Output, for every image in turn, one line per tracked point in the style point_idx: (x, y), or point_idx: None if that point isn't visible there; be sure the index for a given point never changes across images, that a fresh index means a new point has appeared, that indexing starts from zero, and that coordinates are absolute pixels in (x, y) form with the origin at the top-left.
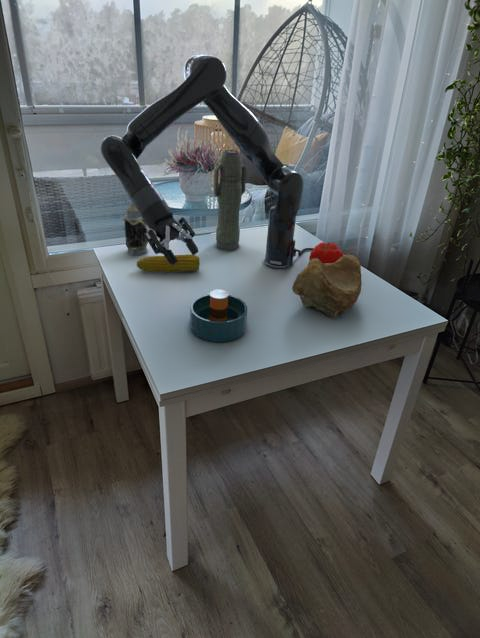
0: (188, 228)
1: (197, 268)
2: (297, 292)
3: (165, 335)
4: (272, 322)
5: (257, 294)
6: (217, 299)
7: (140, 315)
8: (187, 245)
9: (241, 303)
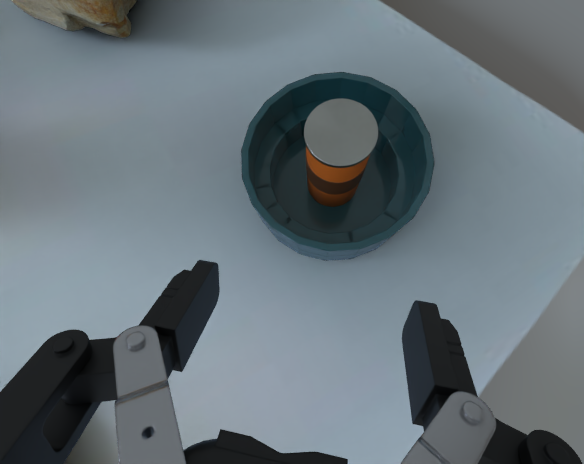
0: (30, 414)
1: None
2: (122, 7)
3: (445, 295)
4: (239, 77)
5: (110, 165)
6: (375, 123)
7: (393, 433)
8: (188, 350)
9: (267, 114)
